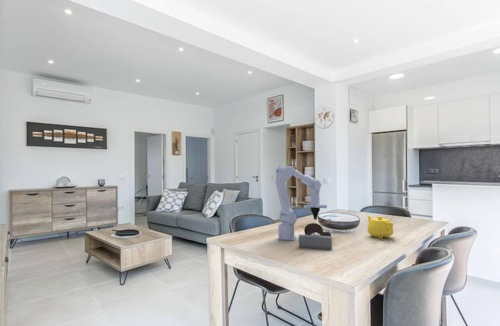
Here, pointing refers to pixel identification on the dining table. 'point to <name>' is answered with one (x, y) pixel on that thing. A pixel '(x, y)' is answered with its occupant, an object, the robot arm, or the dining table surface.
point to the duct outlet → (315, 241)
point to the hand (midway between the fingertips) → (315, 219)
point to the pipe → (315, 230)
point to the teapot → (380, 227)
